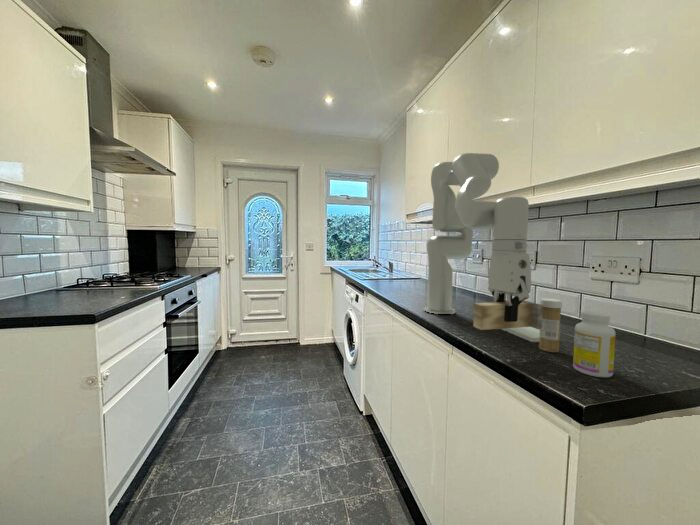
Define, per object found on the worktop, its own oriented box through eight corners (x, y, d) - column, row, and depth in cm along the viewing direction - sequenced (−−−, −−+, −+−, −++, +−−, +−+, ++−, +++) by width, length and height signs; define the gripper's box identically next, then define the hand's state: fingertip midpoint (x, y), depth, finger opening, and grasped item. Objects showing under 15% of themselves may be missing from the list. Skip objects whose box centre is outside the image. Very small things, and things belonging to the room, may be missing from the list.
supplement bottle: (599, 367, 64) (603, 311, 63) (621, 380, 57) (625, 318, 56) (566, 364, 65) (569, 309, 64) (583, 376, 59) (587, 316, 58)
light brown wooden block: (485, 332, 67) (486, 307, 67) (468, 324, 74) (469, 301, 74) (541, 328, 70) (542, 304, 69) (520, 321, 76) (520, 299, 76)
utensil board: (494, 326, 96) (494, 323, 96) (517, 325, 97) (517, 322, 97) (531, 342, 80) (532, 338, 80) (559, 340, 82) (559, 336, 82)
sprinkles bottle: (560, 350, 74) (563, 299, 73) (557, 354, 71) (560, 301, 70) (540, 345, 77) (543, 297, 77) (536, 349, 74) (538, 299, 74)
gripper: (549, 247, 63) (545, 328, 64) (500, 247, 79) (497, 311, 80) (520, 247, 62) (516, 329, 63) (475, 247, 78) (473, 312, 79)
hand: (505, 318), depth 72 cm, fingers closed on light brown wooden block, 3 cm apart
